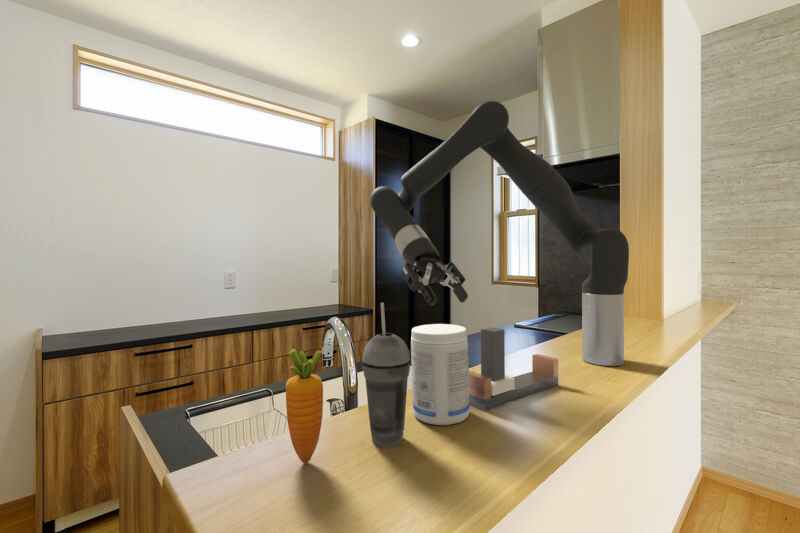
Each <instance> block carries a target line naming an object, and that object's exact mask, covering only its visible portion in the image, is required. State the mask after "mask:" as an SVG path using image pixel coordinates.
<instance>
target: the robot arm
mask: <svg viewBox="0 0 800 533" xmlns="http://www.w3.org/2000/svg"><path fill="white" fill-rule="evenodd" d="M509 115H510V114H509V112H508V109H507V108H506V107H505V105H504V104H503V103H501V102H498V101H496V100H487V101H483V103H480V104H479V105H477V106H476V107H475V108H474V109H473V111H472V112H471V114H470V115H469V116H468V117H467V119H466V120H465V121H464V122H463V123H462V124H461V125H460V126H459V127H458V128H457V129H456V130H455V131H454V132H453V133H452V134H451V135H450V136H449V137H448V138H446V140H445V141H443V142H442V143H440V145H438V146H437V147H436V148H435V149H433V150H432V151H431V152H429V153H428V154H427V155H426V156H424V157H423V158H422V159H421V160H419V161H418V162H417V163H416V164H415V165H413V166H412V167H411V168H410V169H409V170H407V171H406V172H405V173H403V175H402V176H401V178H400V184H401V185H402V189H401V190H400V191H399V193H398V194H397V192H396V191H395V190H394V189H393V188H391V187H390V186H385V185H383V186H378V187H376V188H375V189H374V190H373V191H372V192H371V195H370V198H369V200H370V201H369V202H370V203H369V204H370V206H371V209H372V211H373V212H374V213H375V214H376V216H377V217H378V218H379V220H380V221H381V223H383V225H384V226H385V227H386V228H387V232H389V234H390V237H391V239H393V241H394V243H395V244H396V247H397V250H398V251H399V253H400V255H401V256H402V259H403V260H404V262H405V264H404V266H403V268H402V270H401V271H400V272H401V274H402V276H403V278H404V280H405V282H406V283H407V286H408V288H409V290H411V291H412V292H415V291H418V292H419V293H421V295H422V297H424V300H425V301H426V303H428V304H429V306H435V305H436V303H437V302H438V297H437V295H436V292H434V290H433V289H432V287H431V286H430V285H429V284H434V283H435V284H440V285H441V286H444V287H446V286H447V287H448V288H450V289H451V290H452V292H453V293H454V295H455V296H456V299H458V302H459V303H465V301H467V299H468V297H469V295H468V292H467V291H466V290H465V288H464V287H463V284H464V283H465V281H466V280H467V279H466V278H465V277H464V275H463V274H462V272H461V271H460V270H459V269H458V267H457V266H456V265H455V263H454V262H452V261H450V262H448V263H447V264H445V263H443V262H442V261H441V260H440V252H439V251H438V250H437V248H436V247H435V245H434V244H433V242H432V241H431V239H430V238H429V236H428V235H427V234H426V232H425V231H424V230H423V229H422V227H421V226H419V223H418V222H417V221H416V219H415V218H414V217H413V215H411V214H410V211H411V210H412V209H413V207H414V206H415V205H416V203H417V202H418V201H419V199H420V198H421V197H422V196H423V195H424V194H426V193H427V192H428V191H430V190H431V189H432V188H433V187H435V185H437V184H438V183H439V182H440V181H441V180H443V178H445V177H446V176H447V175H448V174H449V173H450V172H451V171H453V169H454V168H455V167H456V166H458V164H459V163H461V162H462V161H463V160H464V159H465V158H467V156H469V155H471V154H472V153H473V152H474V151H477V150H478V149H479V148H481V149H482V150H483V151H484V152H485V153H486V154H487V155H488V156H490V157H491V159H493V160H494V161H495V162H496V163H497V164H499V165H500V167H501V168H502V169H503V170H504V172H505V173H506V175H507V176H508V177H509V178H510V179H511V181H512V182H513V183H514V184H515V186H516V187H517V188H518V189H519V190H520V192H521V193H522V194H523V195H524V196H525V197H526V199H528V201H529V202H530V203H532V204H533V207H535V208H536V209H537V210H538V211H539V212H540V213H541V214H542V215H543V216H544V218H546V219H547V220H548V221H549V222H550V223H551V225H553V226H554V228H556V230H557V231H558V232H559V233H560V234H561V235H562V237H563V238H564V239H565V241H566V242H567V243H568V245H569V246H570V248H571V249H572V251H573V252H574V253H575V255H576V256H577V257H578V258H579V260H581V261H582V262H583V263H585V264H587V265H590V273H589V274H588V275H589V276H588V277H587V278H586V279H585V280H584V281H583V282H582V285H581V305H582V306H581V310H582V311H581V314H582V317H581V320H582V321H581V324H582V327H581V328H582V329H581V332H582V333H581V335H582V336H581V337H582V338H581V339H582V340H581V343H582V344H581V345H582V346H581V348H582V349H581V353H582V354H581V356H582V358H581V359H582V361H584V362H586V363H588V364H591V365H596V366H597V365H598V366H604V367H605V366H606V367H608V366H609V367H615V366H616V367H617V366H623V365H624V364H625V295H624V293H625V292H624V291H625V286H626V285H627V281H628V278H629V262H630V260H629V258H630V248H629V242H628V239H627V237H626V235H625V234H624V233H623V232H622V231H621V230H619V229H617V228H609V227H607V228H601V229H598V228H597V227H595V226H594V225H593V224H592V223H591V222H590V221H589V220H588V219H587V218H586V217H585V216H584V215H583V214H582V212H581V211H580V209H579V208H578V205H577V202H576V199H575V196H574V194H573V191H572V189H571V187H570V185H569V183H568V182H567V181H566V180H565V178H564V177H563V176H562V175H561V174H560V172H558V171H557V170H556V168H554V166H553V165H552V164H550V162H548V161H546V159H544V158H543V157H541V156H539V155H538V154H537V153H535V152H533V151H532V150H530V149H529V148H527V147H526V146H525V145H523V144H522V143H521V142H520V141H519V139H518V138H517V137H516V136H515V135H514V134H513V133H512V131H511V130H510V128H509V127H508V126H509V120H510V117H509ZM445 276H447V277H446V279H445ZM450 281H451V282H450ZM452 282H453V283H452Z"/></svg>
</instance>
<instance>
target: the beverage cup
mask: <svg viewBox="0 0 800 533" xmlns="http://www.w3.org/2000/svg"><path fill="white" fill-rule="evenodd" d="M380 313H381V314H380V315H381V330H382V331H381V332H382V333H381V332H380V333H378V334H376V335H375V336H372V337H371V339H370V340H369V341H368V342H367V343H366V344H365V347H364V349H363V352H362V360H361V361H360V362H361V365H362V372H363V376H364V378H365V380H364V381H365V387H366V388H365V390H366V397H367V398H366V399H367V408H368V409H367V410H368V418H369V419H368V420H369V428H370V429H369V430H370V435H371V442H372V444H373V445H374V446H376V447H380V448H384V449H386V448H394V447H397V446H399V445H401V444H402V443H403V439H404V438H403V437H404V431H405V423H406V422H405V421H406V420H405V418H406V405H407V391H408V380H409V375H410V370H411V364H412V362H411V353H410V351H409V347H408V346H407V344H406V342H405V341H404V340H403V339H402V338H401V337H400V336H398V335H396V334H394V333H391V332H386V318H385V316H386V314H385V302H380Z"/></svg>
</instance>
